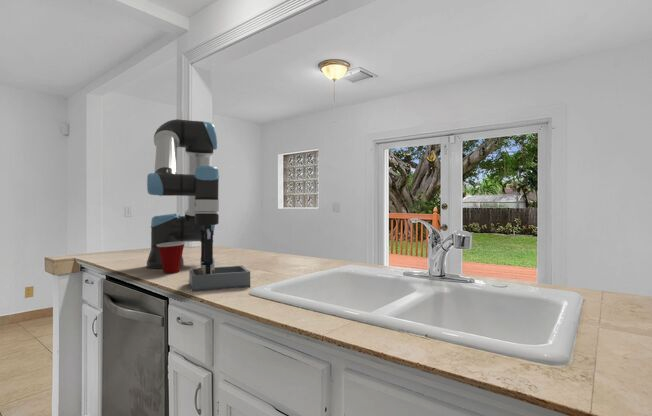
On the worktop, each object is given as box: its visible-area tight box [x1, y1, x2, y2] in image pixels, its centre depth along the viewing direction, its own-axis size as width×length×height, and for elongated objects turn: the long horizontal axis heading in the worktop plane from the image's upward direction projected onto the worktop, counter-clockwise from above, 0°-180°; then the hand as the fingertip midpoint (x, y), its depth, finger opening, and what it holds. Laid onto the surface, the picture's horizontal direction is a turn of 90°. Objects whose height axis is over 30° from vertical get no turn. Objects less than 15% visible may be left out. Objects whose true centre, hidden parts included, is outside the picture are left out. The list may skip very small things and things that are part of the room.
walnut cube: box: [197, 267, 215, 275], centre depth 121 cm, size 5×5×5 cm
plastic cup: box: [156, 242, 186, 274], centre depth 147 cm, size 11×11×12 cm
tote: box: [188, 265, 251, 293], centre depth 123 cm, size 14×18×5 cm
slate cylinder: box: [200, 257, 216, 268], centre depth 137 cm, size 5×5×7 cm
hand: (206, 282), depth 121 cm, fingers closed on walnut cube, 5 cm apart
